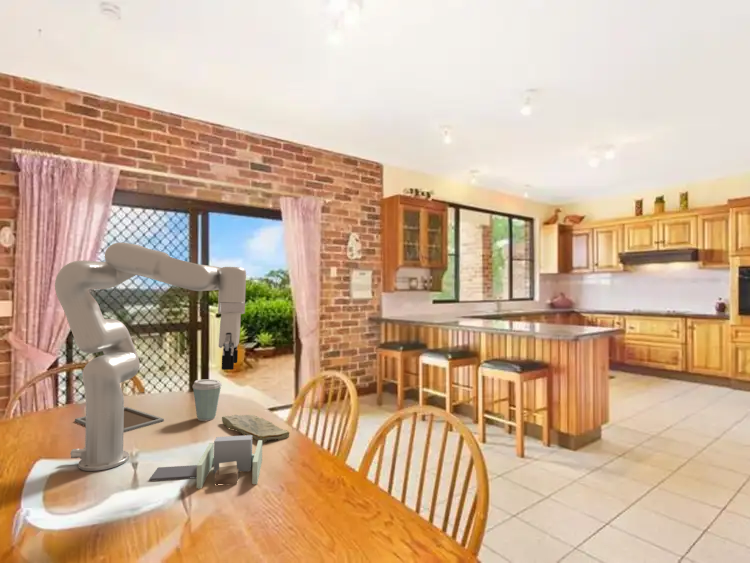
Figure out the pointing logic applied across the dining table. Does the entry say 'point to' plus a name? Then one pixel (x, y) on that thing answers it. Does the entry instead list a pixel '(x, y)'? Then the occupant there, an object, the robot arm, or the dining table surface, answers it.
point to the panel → (174, 472)
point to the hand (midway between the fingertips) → (229, 366)
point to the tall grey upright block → (233, 451)
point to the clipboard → (132, 419)
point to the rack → (208, 461)
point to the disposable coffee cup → (206, 398)
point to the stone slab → (255, 427)
